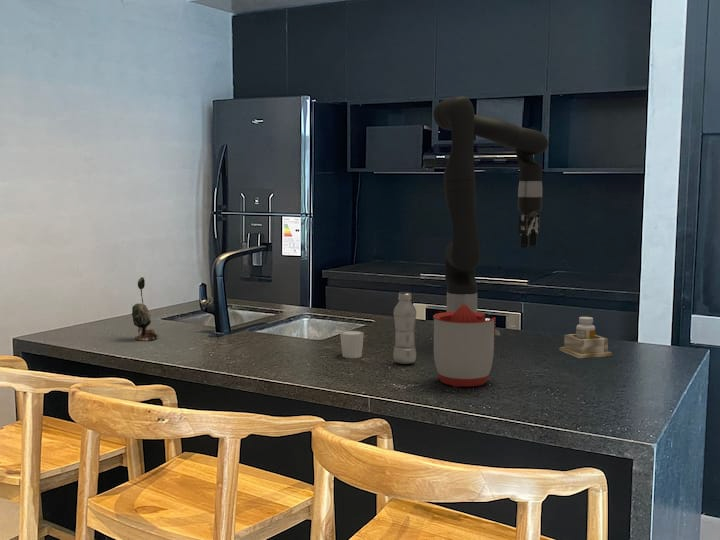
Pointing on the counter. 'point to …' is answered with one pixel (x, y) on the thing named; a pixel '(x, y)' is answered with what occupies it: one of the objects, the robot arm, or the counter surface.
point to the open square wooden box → (585, 347)
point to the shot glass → (351, 344)
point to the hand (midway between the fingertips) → (528, 246)
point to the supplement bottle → (585, 328)
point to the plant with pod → (142, 318)
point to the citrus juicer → (463, 347)
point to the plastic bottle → (404, 329)
